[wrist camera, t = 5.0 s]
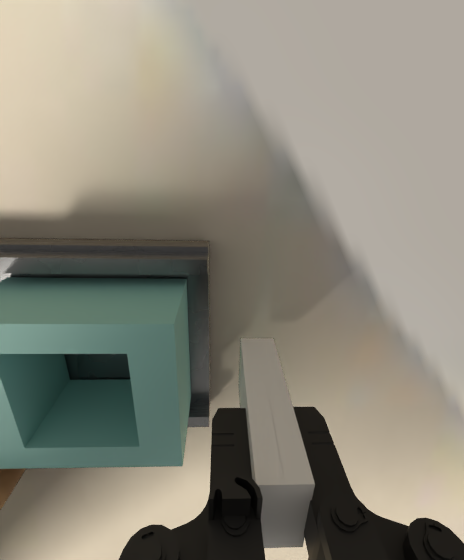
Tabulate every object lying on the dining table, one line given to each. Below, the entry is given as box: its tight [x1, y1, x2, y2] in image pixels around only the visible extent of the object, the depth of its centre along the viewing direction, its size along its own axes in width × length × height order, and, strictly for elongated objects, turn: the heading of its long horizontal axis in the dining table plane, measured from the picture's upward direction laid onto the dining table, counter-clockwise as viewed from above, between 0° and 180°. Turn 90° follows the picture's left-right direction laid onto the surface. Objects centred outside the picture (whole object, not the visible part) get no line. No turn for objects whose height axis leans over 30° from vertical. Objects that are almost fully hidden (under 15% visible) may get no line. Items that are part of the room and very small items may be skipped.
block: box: [0, 277, 191, 469], centre depth 13 cm, size 8×7×4 cm
